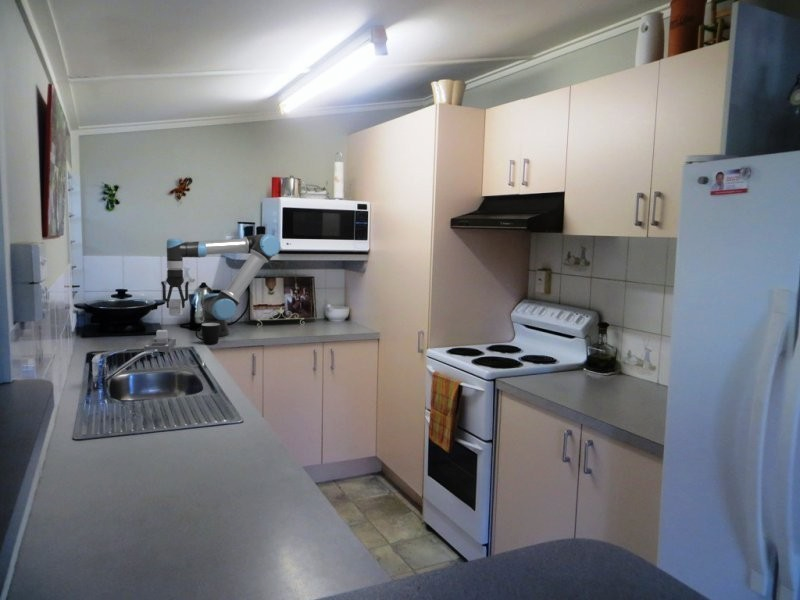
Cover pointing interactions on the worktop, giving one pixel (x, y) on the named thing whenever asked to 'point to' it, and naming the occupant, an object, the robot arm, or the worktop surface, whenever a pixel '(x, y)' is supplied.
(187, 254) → the robot arm
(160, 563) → the worktop surface
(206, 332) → the mug
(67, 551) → the worktop surface
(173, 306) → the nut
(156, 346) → the grey blocky piece
